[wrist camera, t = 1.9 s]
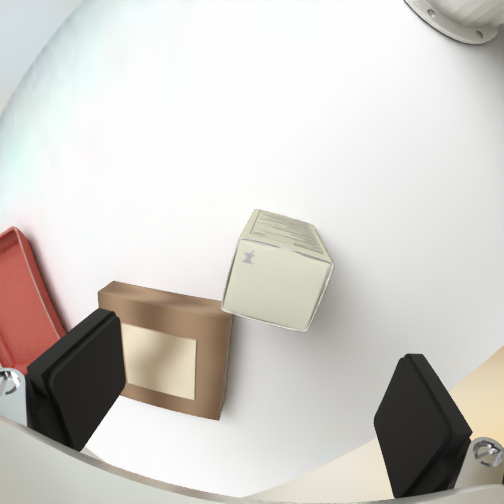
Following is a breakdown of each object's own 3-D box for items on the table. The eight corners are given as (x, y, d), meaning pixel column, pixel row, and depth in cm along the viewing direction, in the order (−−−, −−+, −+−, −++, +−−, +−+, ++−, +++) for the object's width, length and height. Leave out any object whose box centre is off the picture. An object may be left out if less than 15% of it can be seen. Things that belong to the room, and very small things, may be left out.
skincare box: (240, 257, 26) (213, 309, 16) (254, 206, 25) (234, 231, 15) (300, 275, 26) (307, 336, 16) (317, 225, 25) (337, 262, 15)
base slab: (234, 303, 27) (227, 320, 24) (224, 401, 30) (218, 421, 27) (113, 280, 28) (96, 292, 25) (122, 376, 31) (110, 393, 28)
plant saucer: (-28, 259, 31) (-43, 266, 28) (33, 218, 28) (13, 224, 24) (20, 367, 35) (8, 378, 32) (94, 362, 32) (80, 377, 28)
